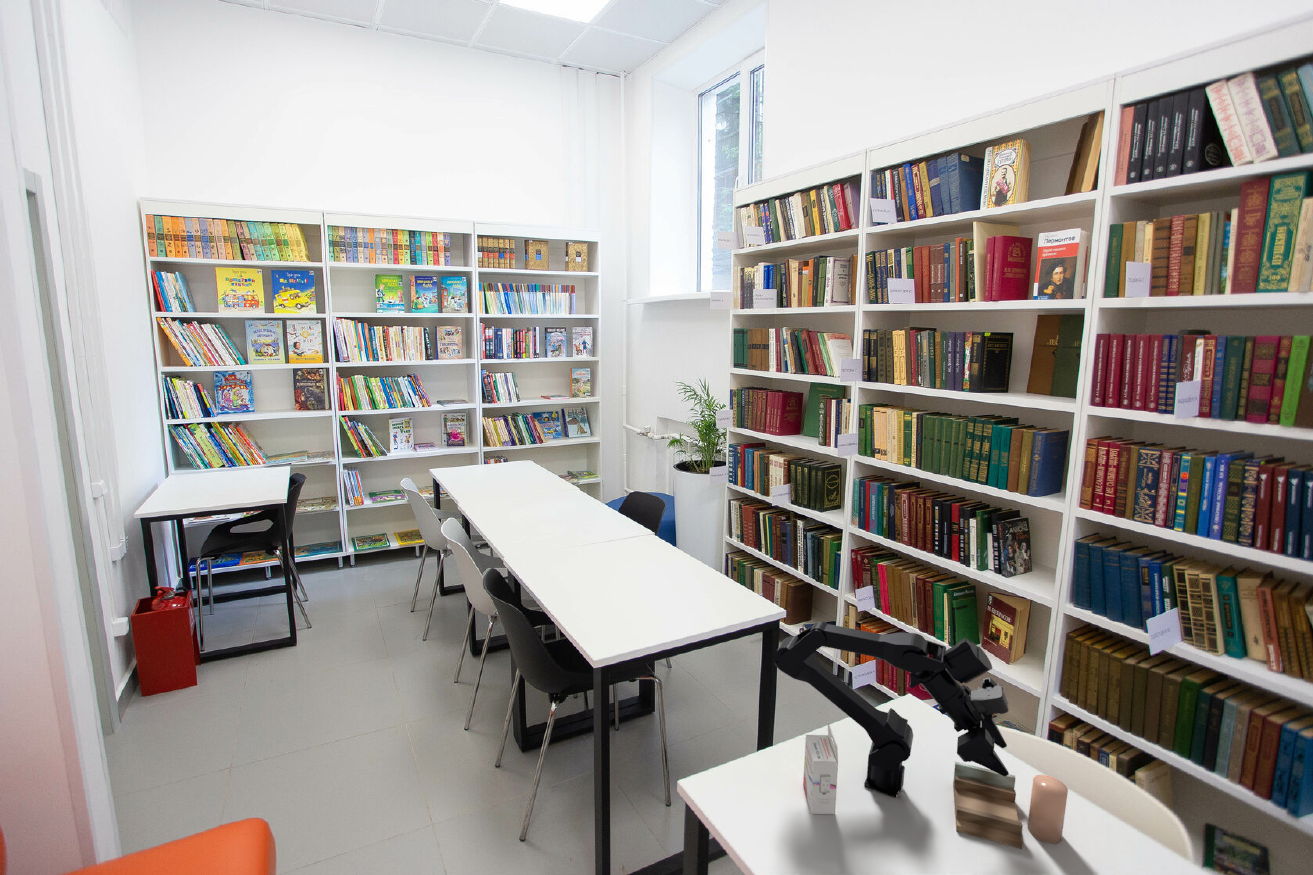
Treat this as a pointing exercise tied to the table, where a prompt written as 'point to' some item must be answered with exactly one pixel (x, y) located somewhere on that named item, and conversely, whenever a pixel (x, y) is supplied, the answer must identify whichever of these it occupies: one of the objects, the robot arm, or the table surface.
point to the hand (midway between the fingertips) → (1005, 760)
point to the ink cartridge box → (821, 772)
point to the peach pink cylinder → (1047, 809)
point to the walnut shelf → (986, 805)
